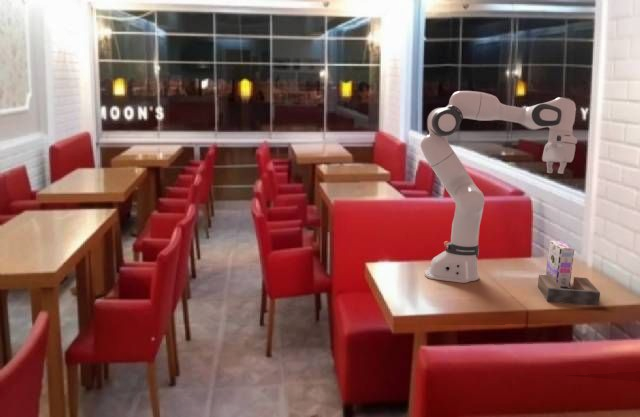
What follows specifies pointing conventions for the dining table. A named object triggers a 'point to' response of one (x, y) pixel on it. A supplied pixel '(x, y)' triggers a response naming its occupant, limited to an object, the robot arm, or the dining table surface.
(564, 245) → the candy box
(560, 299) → the cradle
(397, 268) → the dining table surface
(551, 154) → the robot arm
